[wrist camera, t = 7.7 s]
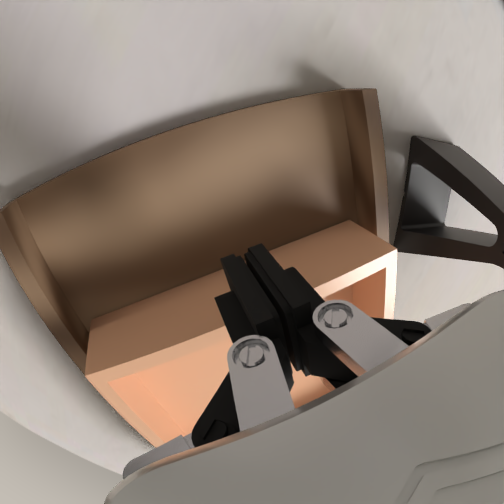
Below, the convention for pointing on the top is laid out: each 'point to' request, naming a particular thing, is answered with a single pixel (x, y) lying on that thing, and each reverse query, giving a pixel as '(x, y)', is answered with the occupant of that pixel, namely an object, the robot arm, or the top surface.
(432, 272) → the top surface
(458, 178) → the phone stand
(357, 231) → the orange shallow box
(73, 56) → the top surface
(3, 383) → the top surface
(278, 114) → the tray
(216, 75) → the top surface
